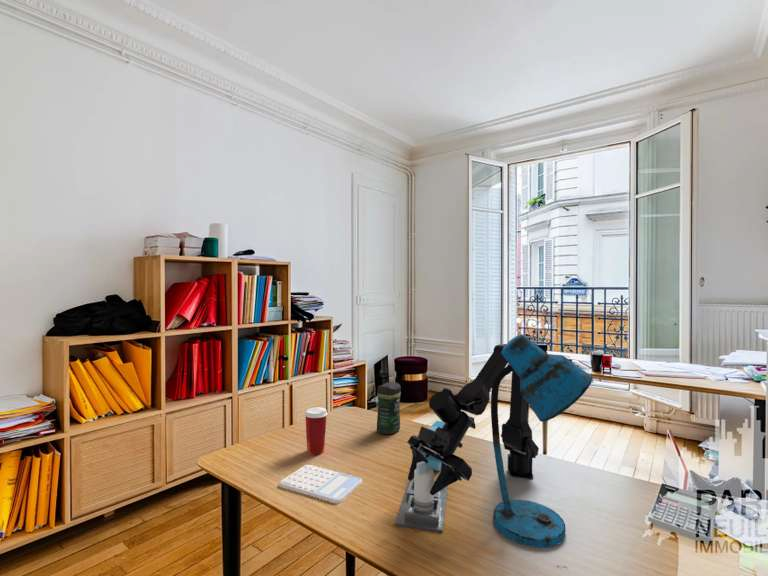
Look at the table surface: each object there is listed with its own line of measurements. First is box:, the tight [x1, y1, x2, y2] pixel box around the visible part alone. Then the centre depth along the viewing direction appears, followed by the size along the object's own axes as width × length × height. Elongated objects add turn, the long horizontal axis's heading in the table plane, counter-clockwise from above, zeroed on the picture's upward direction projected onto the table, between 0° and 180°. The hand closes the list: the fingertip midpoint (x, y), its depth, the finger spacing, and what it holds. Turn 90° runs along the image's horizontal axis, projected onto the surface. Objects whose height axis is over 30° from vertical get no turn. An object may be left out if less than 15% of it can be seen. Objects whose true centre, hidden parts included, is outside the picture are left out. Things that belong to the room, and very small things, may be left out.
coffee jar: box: [376, 381, 402, 435], centre depth 153 cm, size 10×8×19 cm
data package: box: [426, 420, 445, 472], centre depth 125 cm, size 12×4×12 cm, turn 153°
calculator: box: [278, 464, 363, 505], centre depth 111 cm, size 13×20×2 cm, turn 64°
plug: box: [414, 461, 435, 515], centre depth 96 cm, size 5×5×12 cm
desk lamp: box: [490, 333, 594, 548], centre depth 92 cm, size 16×22×45 cm
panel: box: [394, 479, 449, 533], centre depth 101 cm, size 11×21×2 cm, turn 167°
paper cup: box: [304, 406, 328, 456], centre depth 133 cm, size 8×8×14 cm
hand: (419, 486), depth 96 cm, fingers open, 8 cm apart
